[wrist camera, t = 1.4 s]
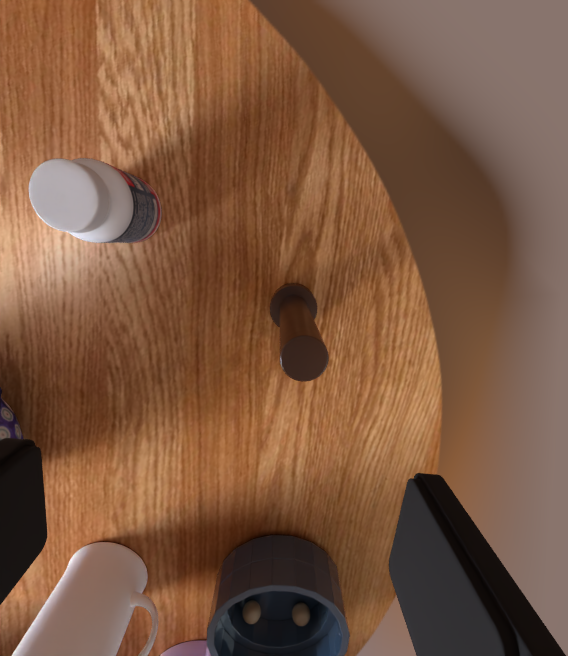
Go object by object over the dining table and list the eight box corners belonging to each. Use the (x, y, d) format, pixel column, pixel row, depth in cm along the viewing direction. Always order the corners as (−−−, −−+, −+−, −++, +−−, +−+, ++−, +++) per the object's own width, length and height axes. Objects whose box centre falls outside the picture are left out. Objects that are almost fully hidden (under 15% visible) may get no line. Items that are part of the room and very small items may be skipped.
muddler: (317, 285, 30) (349, 322, 16) (313, 329, 31) (340, 399, 17) (272, 281, 30) (266, 316, 16) (269, 326, 31) (261, 394, 17)
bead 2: (310, 598, 38) (312, 617, 36) (308, 611, 38) (310, 631, 36) (292, 597, 38) (293, 616, 36) (290, 611, 38) (291, 630, 36)
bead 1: (261, 596, 38) (260, 615, 36) (260, 609, 38) (259, 629, 36) (243, 595, 38) (241, 614, 36) (242, 608, 38) (240, 628, 36)
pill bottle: (169, 187, 28) (119, 164, 19) (155, 250, 29) (103, 255, 20) (104, 166, 27) (22, 132, 19) (93, 231, 28) (12, 227, 20)
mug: (174, 539, 36) (125, 680, 25) (181, 600, 38) (138, 757, 27) (63, 541, 36) (-39, 684, 25) (76, 603, 38) (-13, 761, 27)
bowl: (345, 533, 36) (357, 589, 31) (331, 627, 40) (340, 693, 34) (220, 527, 36) (208, 582, 30) (216, 622, 39) (205, 688, 34)
